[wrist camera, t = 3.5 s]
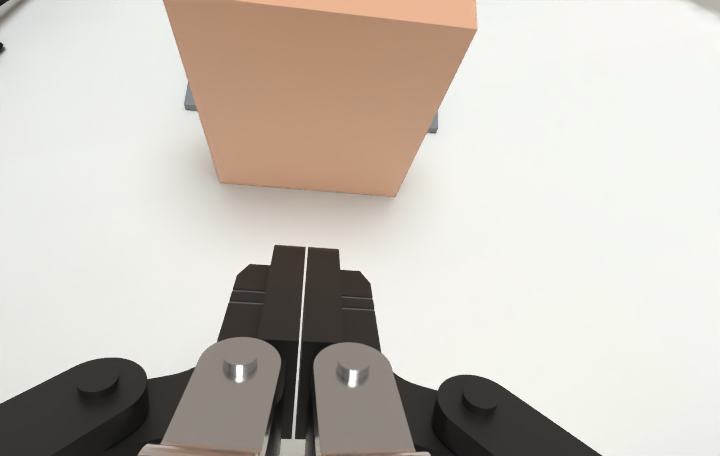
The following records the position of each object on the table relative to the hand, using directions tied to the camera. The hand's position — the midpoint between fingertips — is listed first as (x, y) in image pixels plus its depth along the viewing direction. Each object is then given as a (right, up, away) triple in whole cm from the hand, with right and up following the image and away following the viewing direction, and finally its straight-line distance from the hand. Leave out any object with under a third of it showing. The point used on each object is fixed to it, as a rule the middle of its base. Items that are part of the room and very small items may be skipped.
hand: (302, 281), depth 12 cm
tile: (-2, +5, +18) cm, 18 cm away
